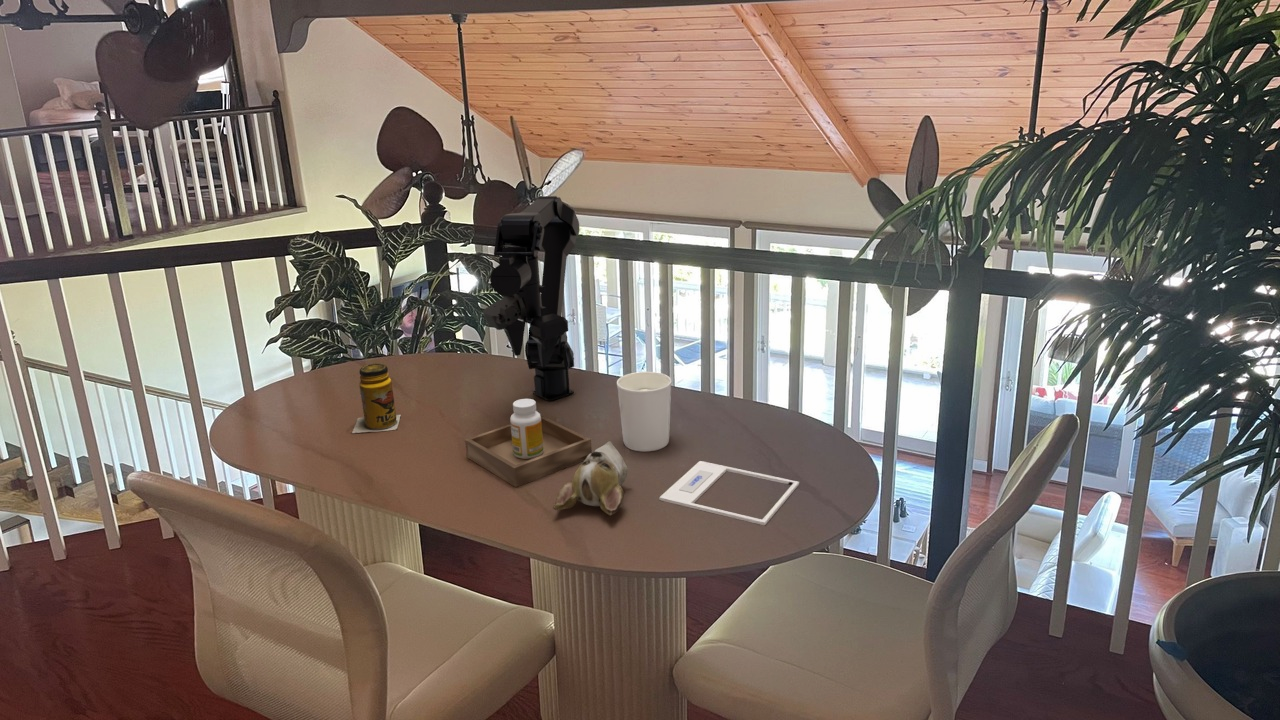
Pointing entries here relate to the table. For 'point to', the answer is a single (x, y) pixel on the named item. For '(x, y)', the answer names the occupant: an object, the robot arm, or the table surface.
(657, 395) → the candle holder
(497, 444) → the box
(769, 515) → the photo frame
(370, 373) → the condiment
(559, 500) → the ceramic sculpture
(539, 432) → the supplement bottle
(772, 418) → the table surface
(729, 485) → the table surface
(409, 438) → the table surface
